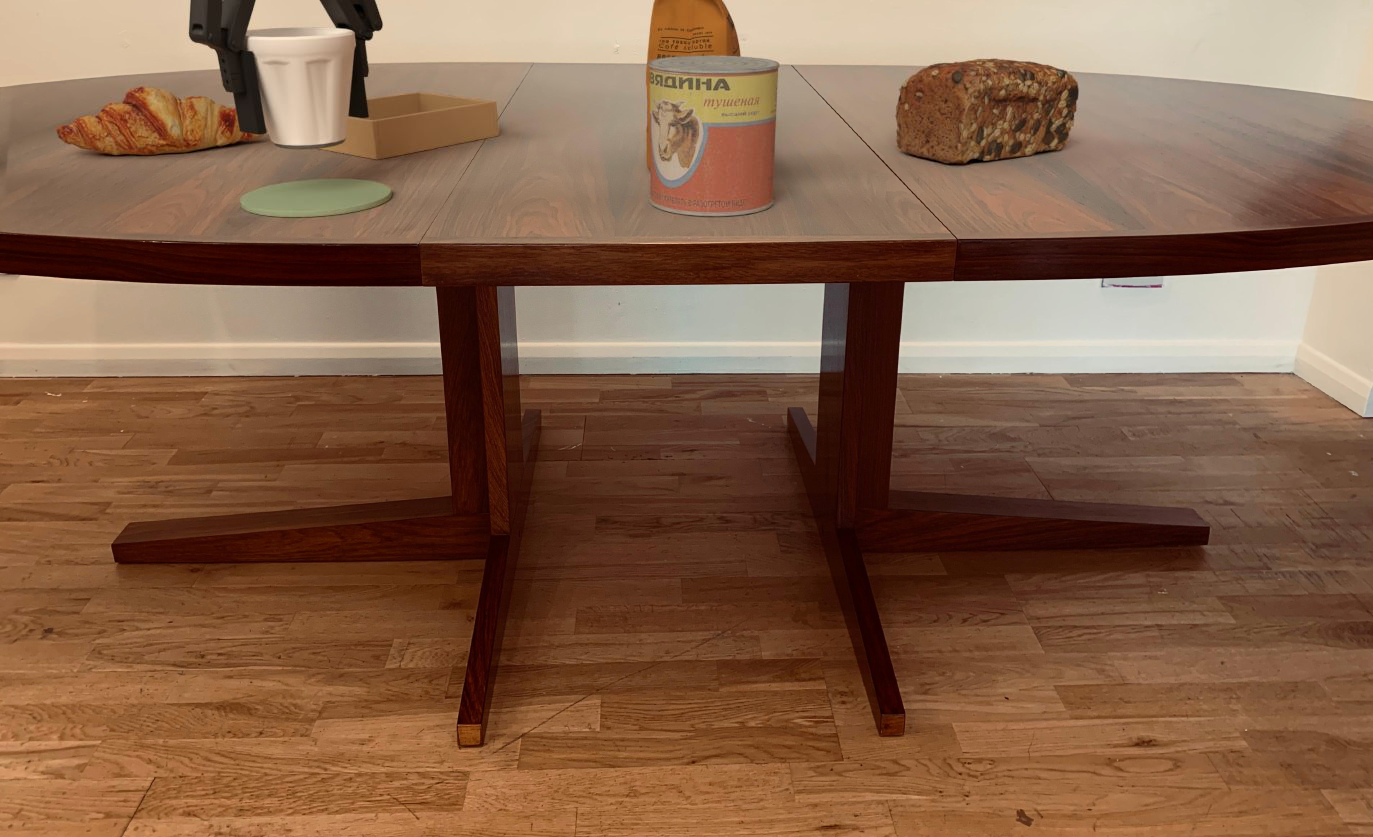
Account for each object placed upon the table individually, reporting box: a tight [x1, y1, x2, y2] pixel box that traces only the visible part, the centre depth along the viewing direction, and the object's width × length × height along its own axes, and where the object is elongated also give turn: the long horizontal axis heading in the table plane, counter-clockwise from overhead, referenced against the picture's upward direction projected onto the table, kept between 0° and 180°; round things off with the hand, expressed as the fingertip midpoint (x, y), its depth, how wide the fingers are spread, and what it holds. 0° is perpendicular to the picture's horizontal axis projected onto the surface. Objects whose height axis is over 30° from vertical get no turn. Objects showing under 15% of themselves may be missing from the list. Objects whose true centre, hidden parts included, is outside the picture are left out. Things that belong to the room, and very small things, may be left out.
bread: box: [894, 57, 1080, 165], centre depth 112 cm, size 19×11×10 cm, turn 123°
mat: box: [239, 178, 393, 218], centre depth 92 cm, size 13×13×1 cm
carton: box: [316, 91, 500, 161], centre depth 118 cm, size 14×18×4 cm
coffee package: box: [645, 0, 742, 170], centre depth 103 cm, size 10×12×22 cm
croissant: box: [55, 86, 268, 156], centre depth 112 cm, size 21×10×8 cm, turn 120°
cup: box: [241, 26, 356, 150], centre depth 88 cm, size 10×10×9 cm
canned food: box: [648, 56, 780, 217], centre depth 90 cm, size 11×11×12 cm
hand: (306, 124), depth 89 cm, fingers closed on cup, 10 cm apart
